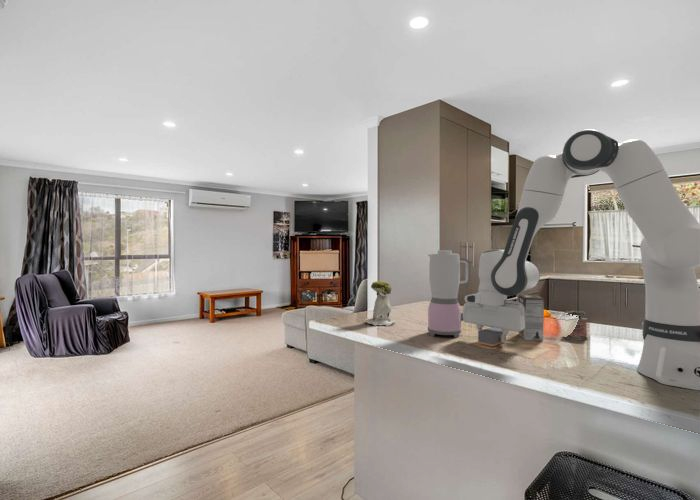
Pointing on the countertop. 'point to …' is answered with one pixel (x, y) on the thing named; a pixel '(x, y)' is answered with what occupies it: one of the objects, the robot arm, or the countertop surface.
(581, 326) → the maroon upright canister
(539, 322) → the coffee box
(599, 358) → the countertop surface
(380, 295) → the stone planter with plant
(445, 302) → the blender
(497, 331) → the block
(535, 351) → the oak board
